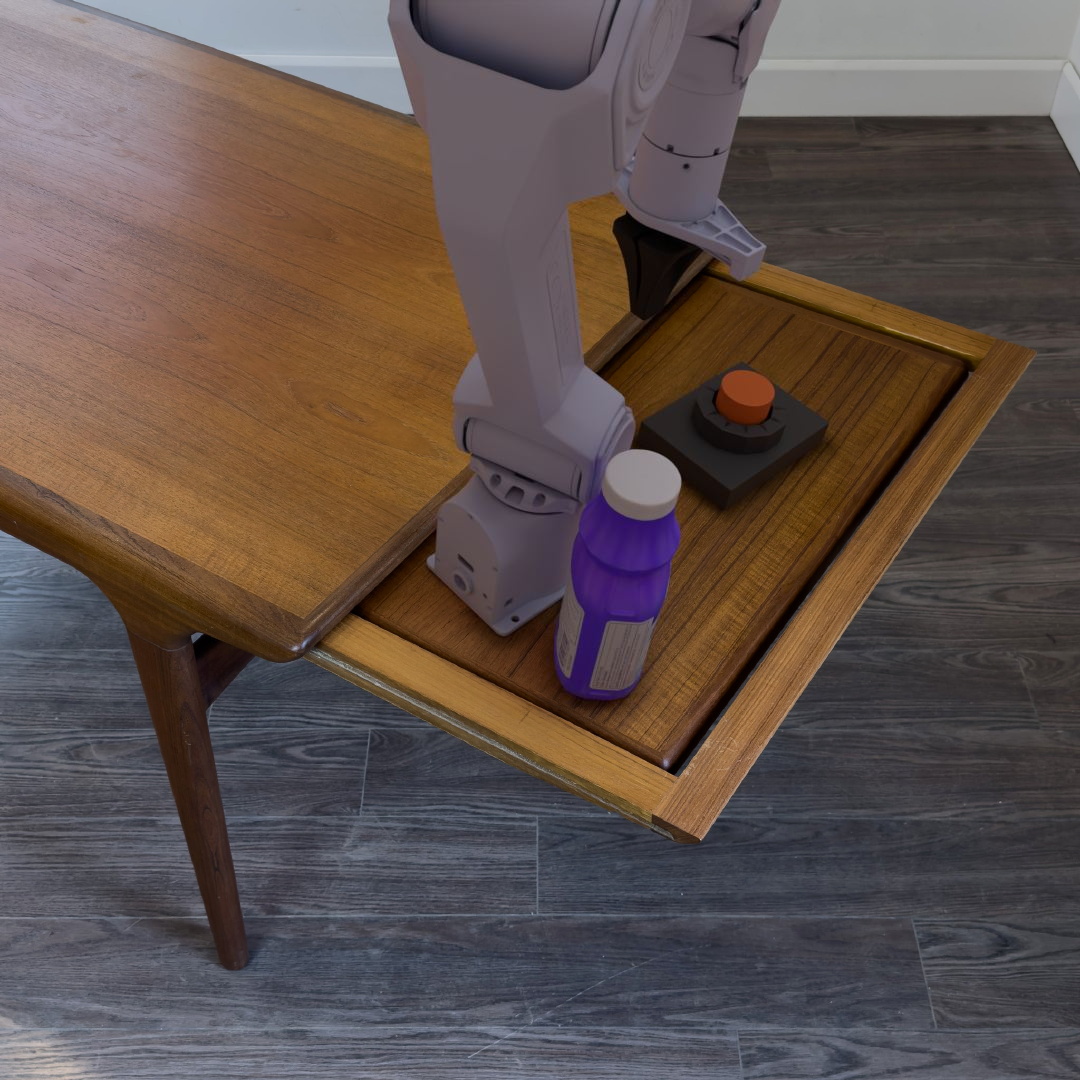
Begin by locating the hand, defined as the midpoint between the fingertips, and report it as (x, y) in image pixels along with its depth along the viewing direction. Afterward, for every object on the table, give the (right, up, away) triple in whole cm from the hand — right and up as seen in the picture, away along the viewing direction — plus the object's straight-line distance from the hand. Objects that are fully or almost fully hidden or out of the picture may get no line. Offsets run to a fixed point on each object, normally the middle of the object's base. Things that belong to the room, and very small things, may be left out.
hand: (646, 311), depth 78 cm
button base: (+7, -9, +7) cm, 13 cm away
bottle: (-4, -24, -8) cm, 26 cm away
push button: (+8, -6, +5) cm, 11 cm away
